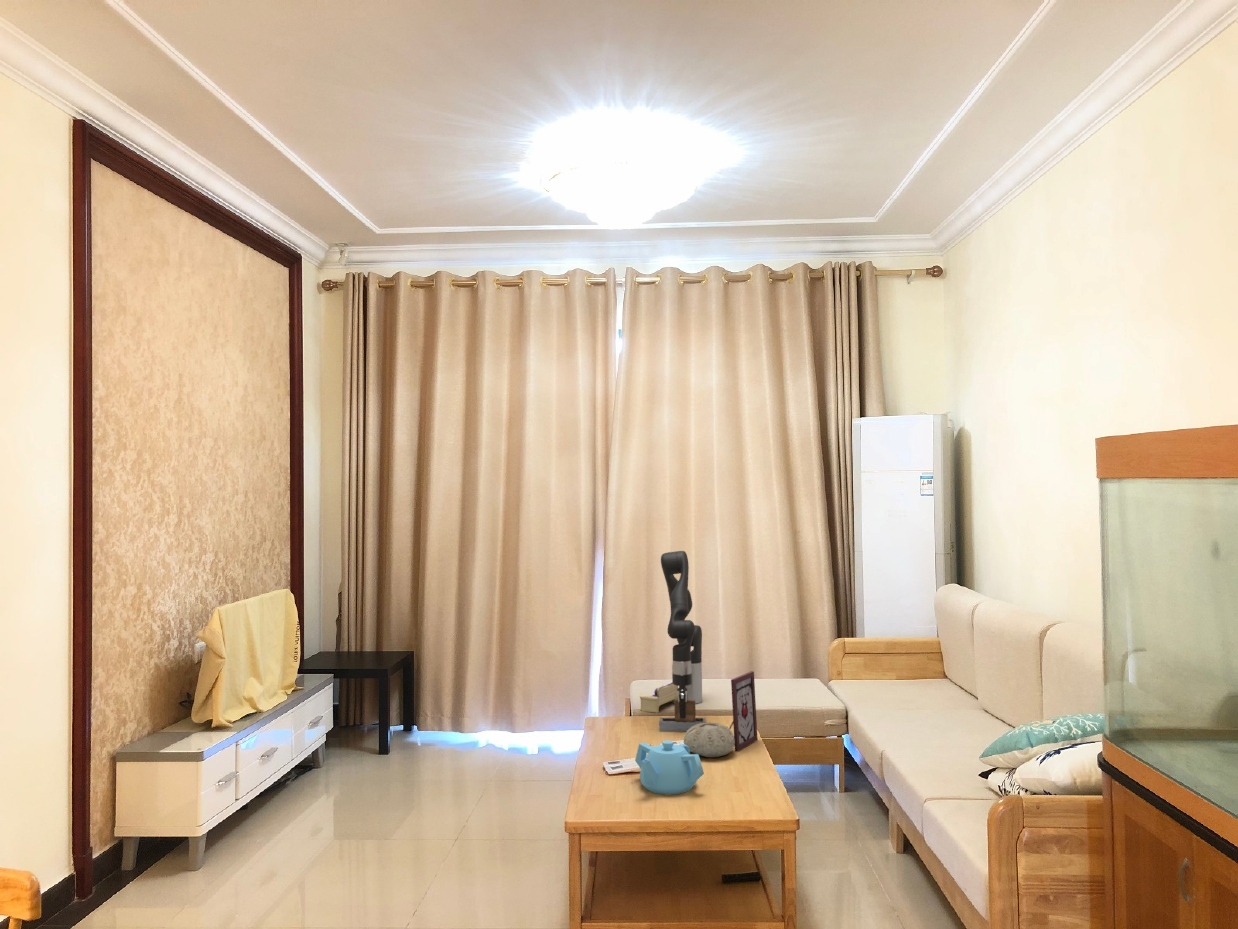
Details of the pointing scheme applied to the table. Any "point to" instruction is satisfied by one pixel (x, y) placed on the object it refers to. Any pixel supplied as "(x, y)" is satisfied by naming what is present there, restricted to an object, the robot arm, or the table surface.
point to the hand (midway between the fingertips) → (682, 716)
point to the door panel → (686, 711)
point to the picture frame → (744, 710)
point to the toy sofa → (659, 698)
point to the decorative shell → (709, 739)
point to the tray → (677, 724)
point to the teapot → (668, 767)
